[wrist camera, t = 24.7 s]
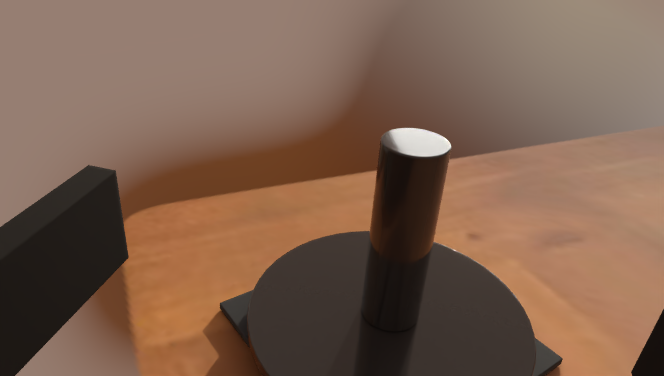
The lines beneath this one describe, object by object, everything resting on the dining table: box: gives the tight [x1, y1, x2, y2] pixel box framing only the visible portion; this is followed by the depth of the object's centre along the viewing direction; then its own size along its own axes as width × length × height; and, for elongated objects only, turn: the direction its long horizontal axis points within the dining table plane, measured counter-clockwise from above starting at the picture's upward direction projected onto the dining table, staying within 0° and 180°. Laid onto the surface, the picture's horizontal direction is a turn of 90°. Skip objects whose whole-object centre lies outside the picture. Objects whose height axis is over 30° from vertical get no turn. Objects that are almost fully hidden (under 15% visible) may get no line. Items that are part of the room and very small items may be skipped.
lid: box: [247, 128, 536, 376], centre depth 24 cm, size 14×14×10 cm
